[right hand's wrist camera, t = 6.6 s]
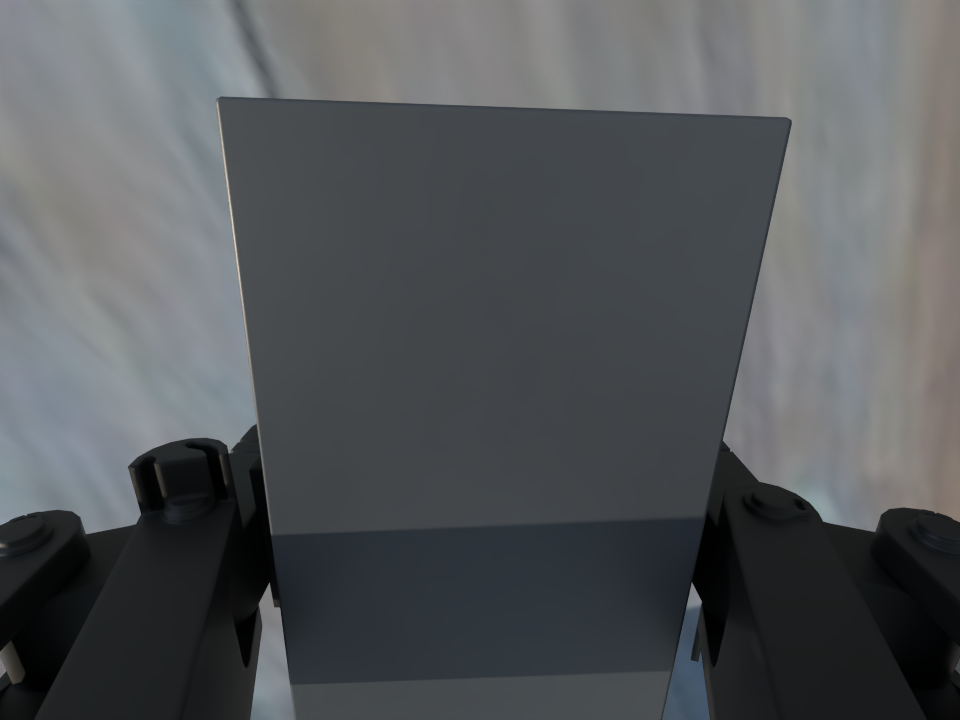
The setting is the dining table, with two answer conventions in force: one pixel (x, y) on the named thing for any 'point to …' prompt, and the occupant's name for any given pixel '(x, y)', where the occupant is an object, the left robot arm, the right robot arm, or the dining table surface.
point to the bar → (490, 390)
